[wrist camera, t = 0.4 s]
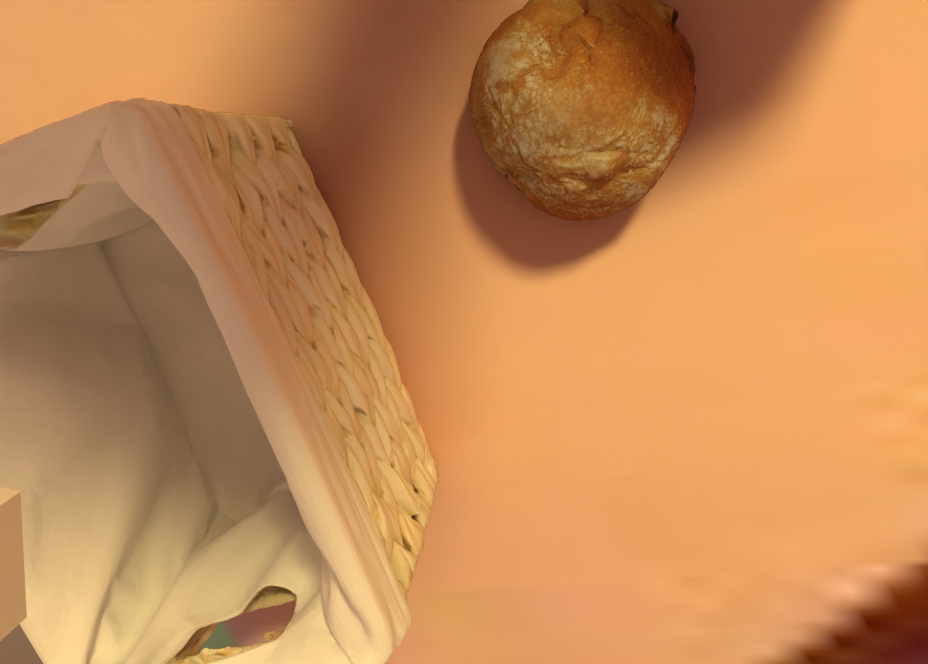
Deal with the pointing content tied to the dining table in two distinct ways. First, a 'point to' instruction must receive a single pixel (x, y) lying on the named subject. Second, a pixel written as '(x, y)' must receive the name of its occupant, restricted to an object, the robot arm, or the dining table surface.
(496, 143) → the bread roll
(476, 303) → the dining table surface
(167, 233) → the storage basket
